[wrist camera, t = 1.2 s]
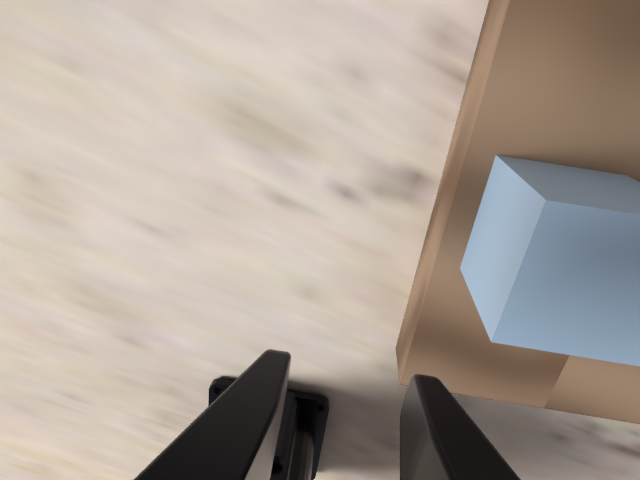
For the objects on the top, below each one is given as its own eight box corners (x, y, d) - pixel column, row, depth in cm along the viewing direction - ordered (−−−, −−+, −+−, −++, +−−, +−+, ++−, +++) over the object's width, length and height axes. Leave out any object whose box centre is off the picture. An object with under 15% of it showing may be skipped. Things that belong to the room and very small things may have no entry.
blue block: (575, 286, 17) (643, 366, 13) (459, 268, 17) (490, 342, 13) (627, 175, 15) (726, 228, 11) (495, 154, 15) (546, 200, 11)
